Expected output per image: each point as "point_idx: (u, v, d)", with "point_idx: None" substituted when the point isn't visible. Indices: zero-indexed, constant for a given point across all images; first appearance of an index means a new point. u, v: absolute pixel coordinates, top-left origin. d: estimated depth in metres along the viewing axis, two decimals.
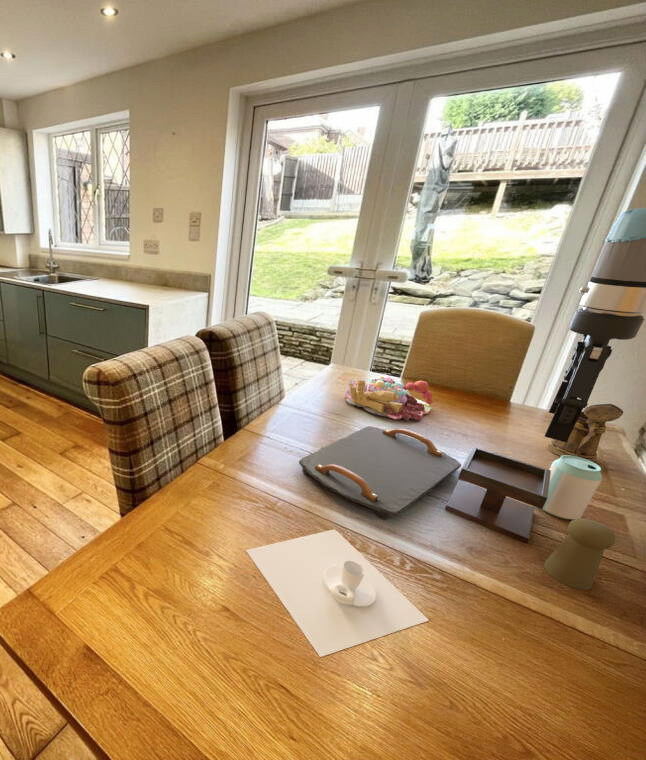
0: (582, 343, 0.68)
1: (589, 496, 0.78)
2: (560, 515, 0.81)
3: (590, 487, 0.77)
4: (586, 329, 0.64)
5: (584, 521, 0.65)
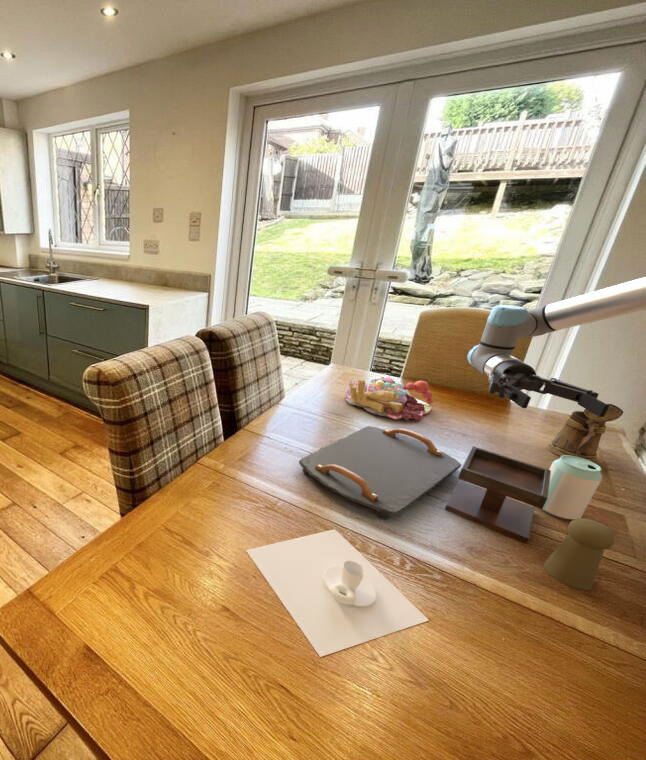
0: None
1: (589, 496, 0.78)
2: (560, 515, 0.81)
3: (590, 487, 0.77)
4: None
5: (584, 521, 0.65)
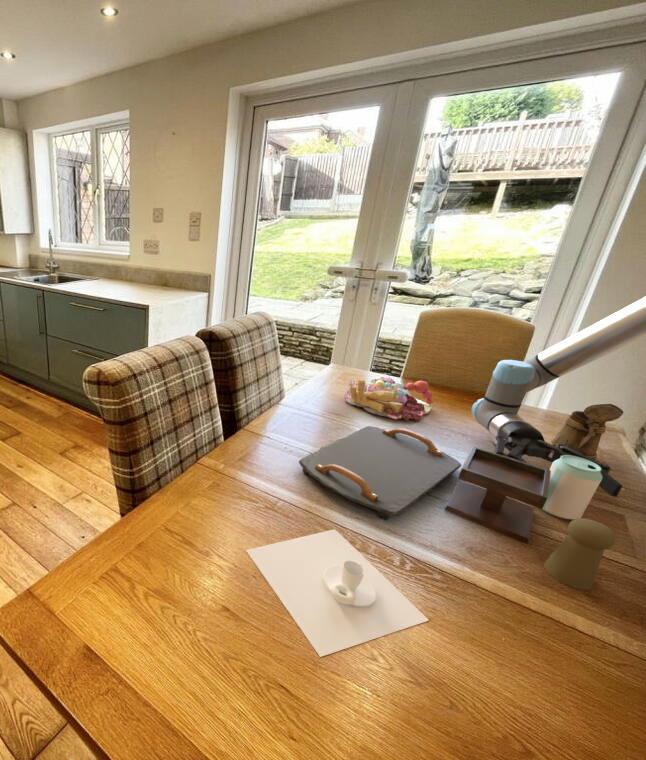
0: None
1: (589, 496, 0.78)
2: (560, 515, 0.81)
3: (590, 487, 0.77)
4: None
5: (584, 521, 0.65)
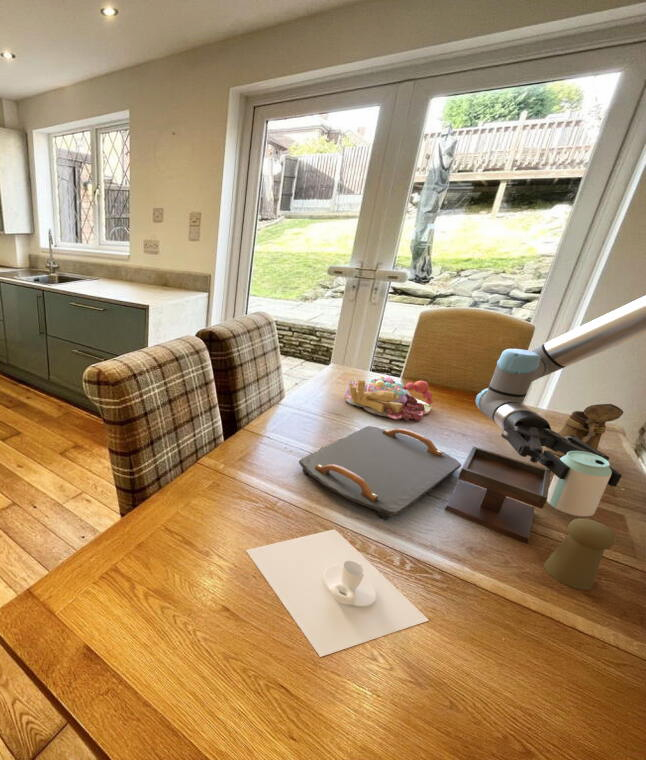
0: None
1: (600, 492, 0.76)
2: (572, 513, 0.79)
3: (599, 483, 0.75)
4: None
5: (584, 521, 0.65)
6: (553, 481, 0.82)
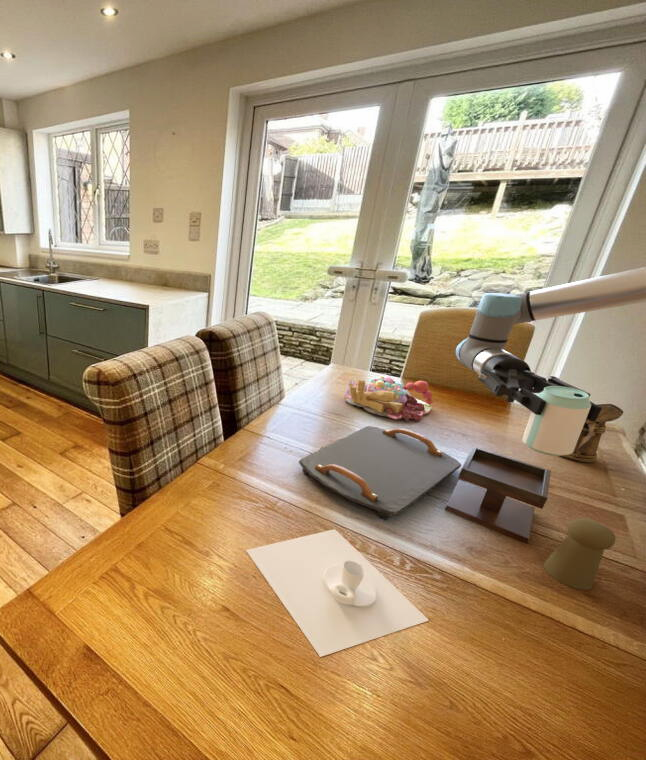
0: None
1: (578, 427, 0.71)
2: (549, 452, 0.74)
3: (577, 416, 0.70)
4: None
5: (584, 521, 0.65)
6: (530, 419, 0.76)
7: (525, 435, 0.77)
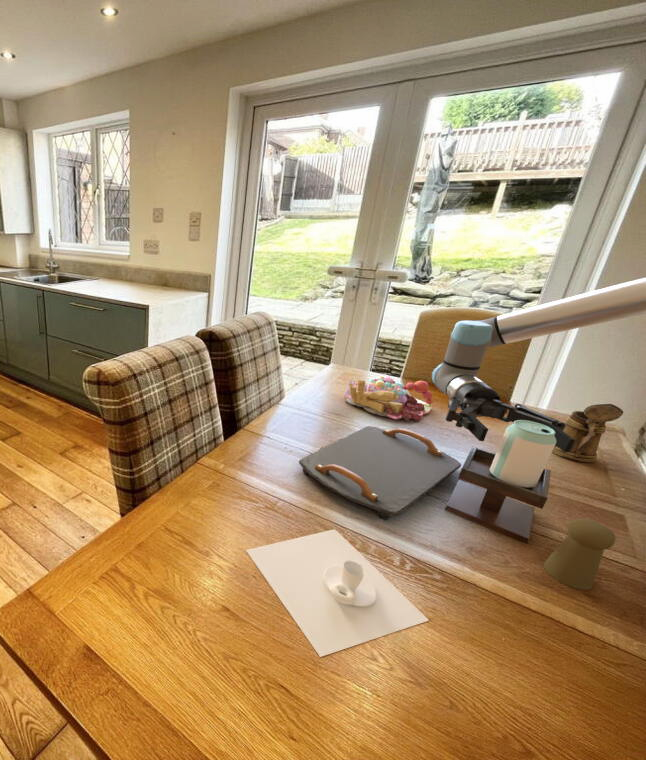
0: None
1: (543, 462, 0.73)
2: (514, 483, 0.76)
3: (543, 451, 0.72)
4: (459, 406, 0.93)
5: (584, 521, 0.65)
6: (498, 451, 0.78)
7: (493, 465, 0.79)
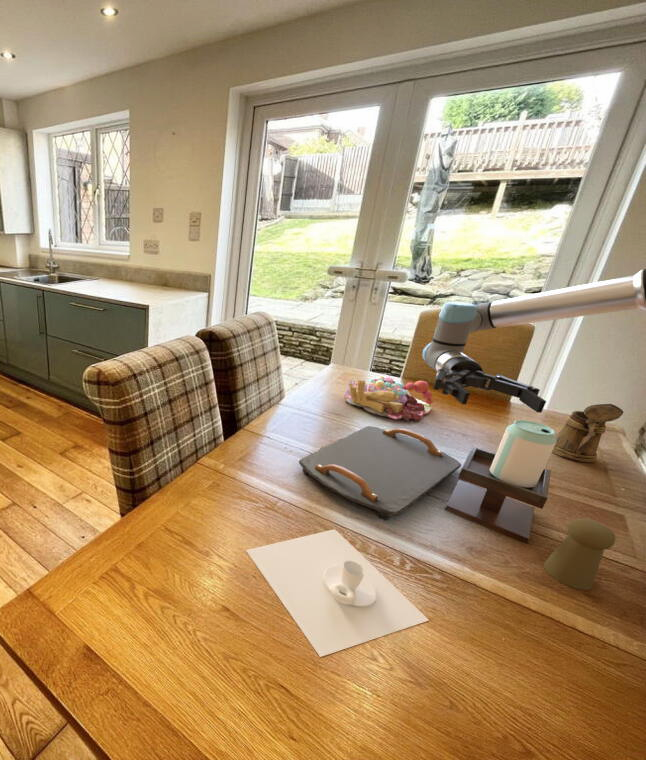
0: None
1: (543, 462, 0.73)
2: (514, 483, 0.76)
3: (543, 451, 0.72)
4: (446, 378, 1.02)
5: (584, 521, 0.65)
6: (498, 451, 0.78)
7: (493, 465, 0.79)
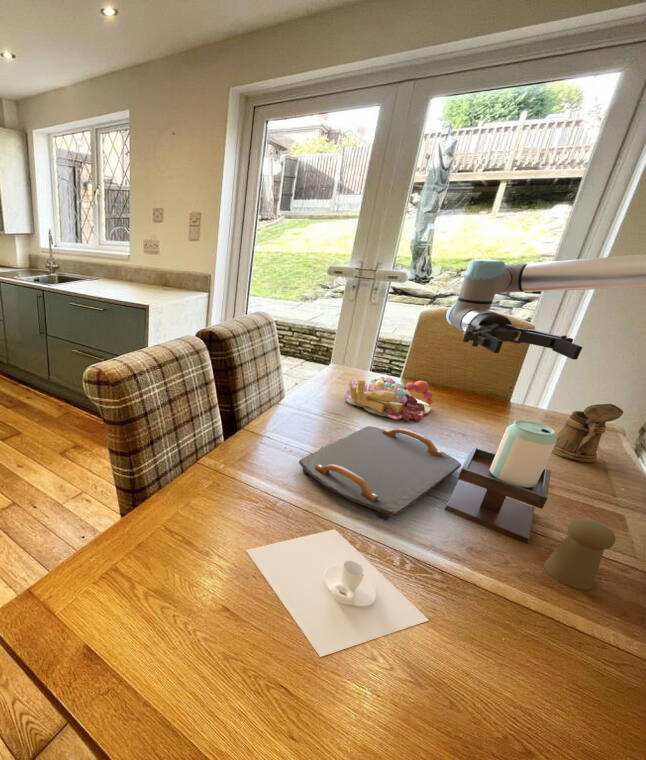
0: None
1: (543, 462, 0.73)
2: (514, 483, 0.76)
3: (543, 451, 0.72)
4: None
5: (584, 521, 0.65)
6: (498, 451, 0.78)
7: (493, 465, 0.79)
